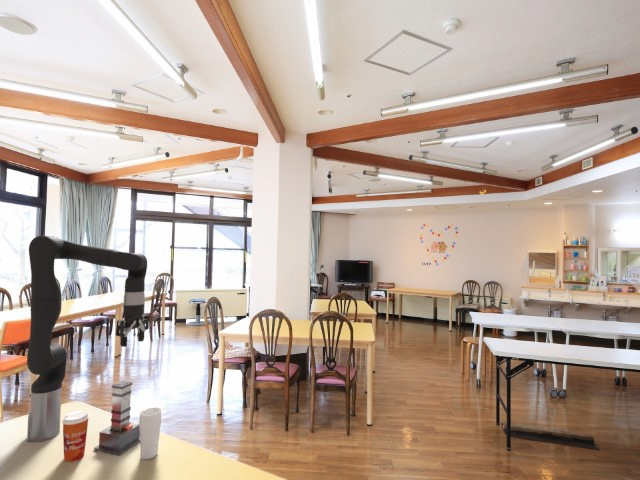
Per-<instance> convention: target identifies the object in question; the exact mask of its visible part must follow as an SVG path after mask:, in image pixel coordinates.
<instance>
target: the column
mask: <svg viewBox="0 0 640 480" xmlns="http://www.w3.org/2000/svg"><path fill="white" fill-rule="evenodd" d="M132 385H133V382H131V381H125V380H121V381H119V382H116V383H114V384H112V385H111V388H112V393H111V397H112V399H111V400H112V403H111V404H112V406H111V410H110V411H111V412H110V413H111V418H110V422H111V425H110V426H111V431H114V432H119V433H121V432H122V431H124V427H126V426H127V425H129V424H130V423H129V422H130V420H131V415H130V413H131V394H132V390H131V389H132V388H131V387H132Z"/></svg>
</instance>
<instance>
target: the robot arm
mask: <svg viewBox="0 0 640 480" xmlns="http://www.w3.org/2000/svg"><path fill="white" fill-rule="evenodd" d="M28 256H29V264H30V273H31V275H30V276H31V277H30V278H31V279H30V329H29V340H28V346H27V347H28V349H27V355H26V365H27V368H28V371H29V372H30V373H31V374H33V375H38V377H37V379H35V380H34V382H32V383H31V386H30V402H29V403H30V405H29V406H30V407H29V409H30V410H29V414H28V416H27V435H26V436H27V437H26V442H27V441H28V442H43V441H46V440H49V439H52V438H54V437H56V436H57V435H59V433H60V431H61V413H62V412H61V410H62V390H63V389H62V388H63V381H64V380H65V376H66V370H67V360H68V356H67V350H66V349H65V347H64V346H62V344H58V343H52V344H51V337H52V333H53V330H54V328H55V326H56V324H57V322H58V320H59V318H60V316H61V312H62V302H63V301H62V291H61V288H60V285H59V283H58V280H57V278H56V274H55V260H75V261H81V262H84V263H88V264H92V265H97V266H103V267H110V268H117V269H120V270H125V271H128V272H127V273H128V275H127V277H126V278H125V281H124V295H123V304H122V306H123V307H122V315H123V316H124V319H122V320H121V319H117V320H116V327H115V328H116V330H115V336H116V337H120V341H119V343H120V346H121V347H122V348H123V347H124V348H125V347H127V346H128V337H127V336H128V334H129V333H130V332H131V331H132V330H134V329H137V330H138V334H137V335H138V336H137V342H144V339H145V332H146V331H147V330H149V328H150V321H149V320H150V316H149V314H145V303H146V302H145V301H146V295H145V294H146V293H145V278H146V275H147V269H148V259H147V257H146V256H145V254H142V253H138V252H136V253H135V252H134V253H133V252H125V251H120V250H117V249H112V248H108V247H107V248H106V247H100V246H92V245H83V244H79V243H75V242H71V241H68V240H64V239H62V238H59V237H57V236H51V235H37V236H35V237H33V239H31V241H30V243H29V247H28Z"/></svg>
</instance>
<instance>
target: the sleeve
mask: <svg viewBox="0 0 640 480" xmlns="http://www.w3.org/2000/svg"><path fill="white" fill-rule="evenodd" d="M129 423H130V424H129V425H127V426H126V427H124V431H122V432H121V433H119V432H114V431H111V425H109V426H108V427H106V428H104V429H103V430H101V431H99V435H98V436H99V439H98V444H97V445H96V446H94V447H93V451H94V452H98V453H99V452H100V453H103V454H109V455H112V456H117V457H120V456H122V455H123V454H125V453H126V452H128V451H129V450H130V449H133V448H134V447H135V446H137V445H138V444H140V431H139V423H135V422H130V421H129Z"/></svg>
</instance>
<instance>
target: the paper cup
mask: <svg viewBox="0 0 640 480" xmlns="http://www.w3.org/2000/svg"><path fill="white" fill-rule="evenodd" d="M90 417H91V415H90V414H89V412H88V411H86V410H77V411H72V412H70V413H68V414H65V416H64V417H63V420H62V421H61V423H62V434H63V435H62V436H63V437H62V438H63V460H64V462H66V463H73V462H77V461H79V460H81V459H82V458H83V457H84V456H85V451H86V450H85V449H86V441H87V432H88V425H89V419H90Z"/></svg>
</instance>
